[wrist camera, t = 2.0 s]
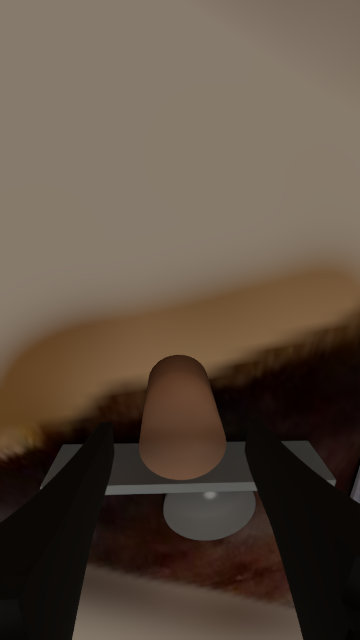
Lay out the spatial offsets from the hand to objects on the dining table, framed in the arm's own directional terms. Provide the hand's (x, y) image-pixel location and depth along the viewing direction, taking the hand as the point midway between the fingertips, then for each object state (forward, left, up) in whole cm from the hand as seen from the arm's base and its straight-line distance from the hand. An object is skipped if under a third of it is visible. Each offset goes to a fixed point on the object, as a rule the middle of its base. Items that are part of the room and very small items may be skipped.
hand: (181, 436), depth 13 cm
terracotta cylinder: (0, 0, -5) cm, 5 cm away
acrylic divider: (-1, +6, -5) cm, 8 cm away
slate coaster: (-3, +12, -5) cm, 14 cm away
